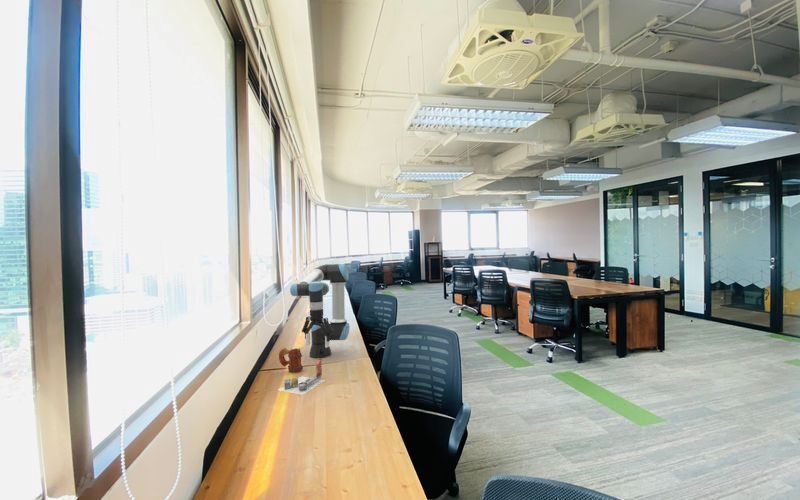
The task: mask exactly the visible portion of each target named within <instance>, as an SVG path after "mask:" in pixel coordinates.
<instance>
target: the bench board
mask: <svg viewBox="0 0 800 500" xmlns="http://www.w3.org/2000/svg"><path fill="white" fill-rule="evenodd" d="M309 378H310V379H311V378H312V377H308V376H302V375H301V376H299V377H298V378H297V379H298V387H296V388H292V387H291V389H286V390H285V387H284V386H281V387H280V388H278V389H277V391H281V392H285V393H290V394H296V395H301V396H303V395H305V394H306V393H307V394H308V392H309V391H311V390H312V389H314V388H316V387H318V386H319V385H321V384H322V383H323V382H325V381H326V380H325V379H321V378H319V379H318V380H316V381H314V382H313V383H311V384H310V385H308V386H307V388H306V389H302V390H301V389H299V383H302V382H305V380H307V379H309Z"/></svg>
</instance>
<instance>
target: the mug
mask: <svg viewBox="0 0 800 500" xmlns="http://www.w3.org/2000/svg"><path fill="white" fill-rule="evenodd" d="M286 355H287V356H288V359H289V360H286V358H285V356H286ZM302 357H303V354H302V352H301V348H296V347H295V348H291V349H290V350H289V349H287V347H284V348H282V349H280V351H279V353H278V359H279V363H280V364H281V366H282V367H287V369H288V373H291V374H294V373H299V372H301V371H302V370H303V368H304V367H303V365H302Z"/></svg>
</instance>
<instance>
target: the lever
mask: <svg viewBox="0 0 800 500" xmlns="http://www.w3.org/2000/svg"><path fill="white" fill-rule="evenodd" d="M322 364H323V363H322V358H316V359H315V365H316V366H315V371H316V374H315V376H313V377H308V378H309V379H307V380H305V382H302V383H299V389H301V390H302V389H306V388H307V386H308V385H310V384H311V383H313V382H314V381H316V380H318V379H321V378H322V376H323V369H322ZM310 378H311V379H310Z"/></svg>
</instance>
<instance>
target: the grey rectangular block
mask: <svg viewBox="0 0 800 500" xmlns="http://www.w3.org/2000/svg"><path fill="white" fill-rule="evenodd" d="M291 380H292V379H291V378H287V379H284V383H283V384H284V387H285V390H286V389H291Z"/></svg>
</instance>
